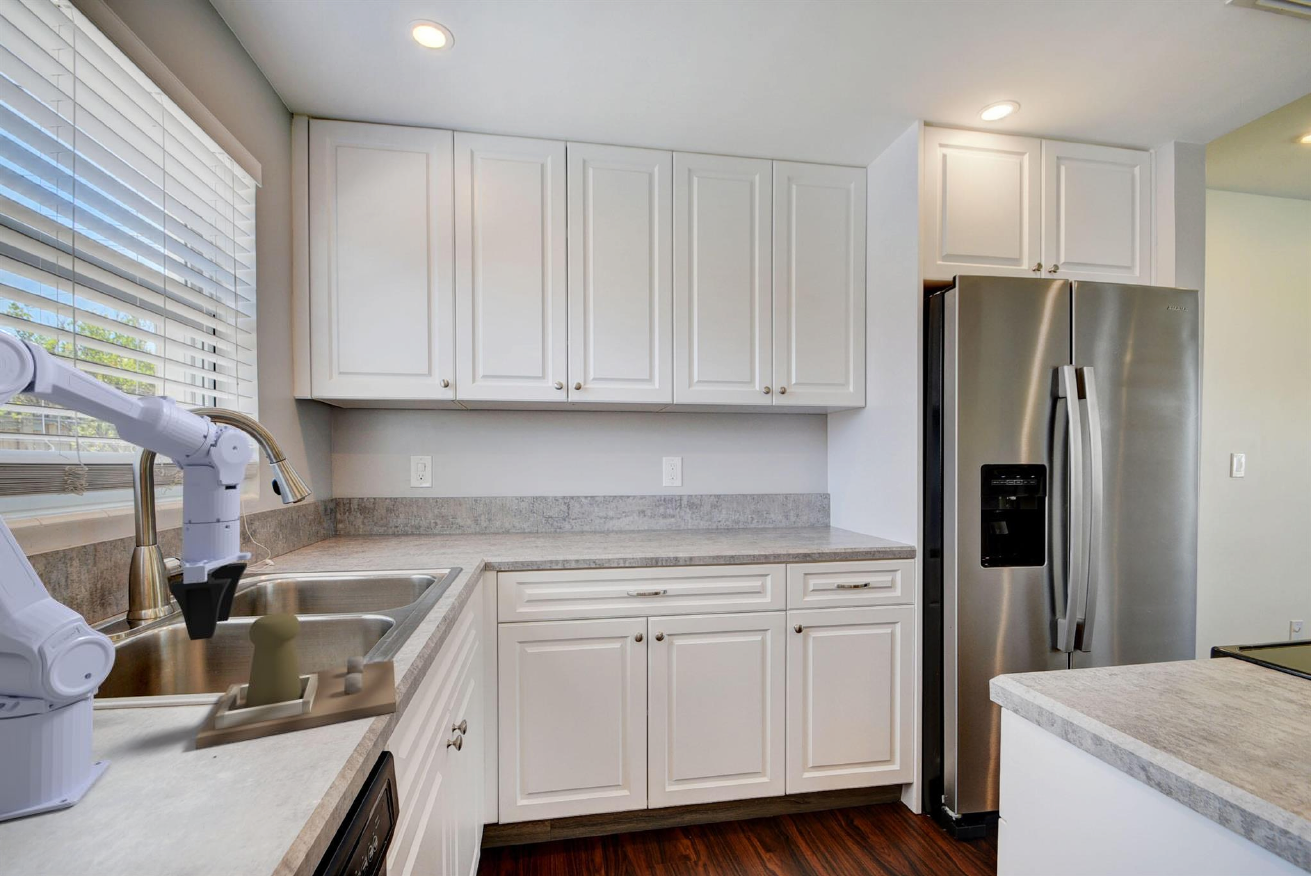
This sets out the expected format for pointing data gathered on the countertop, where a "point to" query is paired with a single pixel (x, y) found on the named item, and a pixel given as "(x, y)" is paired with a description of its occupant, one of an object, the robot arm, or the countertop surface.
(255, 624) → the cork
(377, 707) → the board
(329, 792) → the countertop surface
